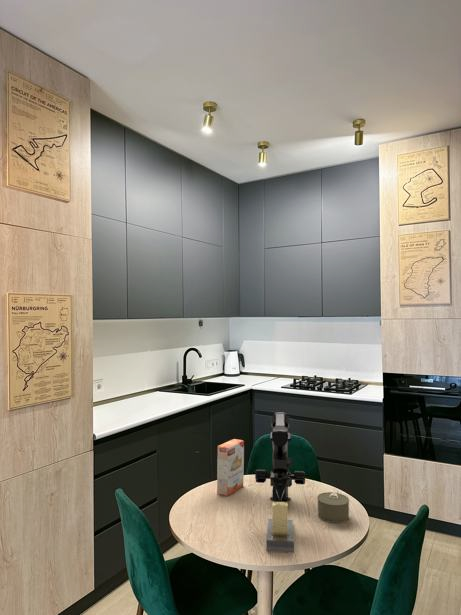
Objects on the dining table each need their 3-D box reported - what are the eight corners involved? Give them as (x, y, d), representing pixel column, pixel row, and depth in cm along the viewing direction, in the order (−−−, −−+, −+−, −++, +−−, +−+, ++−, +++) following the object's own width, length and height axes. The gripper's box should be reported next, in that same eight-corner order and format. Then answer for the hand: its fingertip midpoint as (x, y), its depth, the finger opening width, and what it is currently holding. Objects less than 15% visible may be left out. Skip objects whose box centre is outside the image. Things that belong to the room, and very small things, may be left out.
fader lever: (271, 535, 150) (271, 500, 150) (289, 536, 149) (288, 501, 150) (271, 542, 145) (270, 506, 145) (289, 543, 144) (289, 507, 145)
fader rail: (268, 522, 163) (268, 513, 163) (292, 523, 162) (292, 514, 162) (266, 551, 143) (266, 540, 143) (294, 552, 142) (293, 541, 142)
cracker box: (228, 496, 187) (228, 447, 188) (216, 493, 190) (216, 445, 191) (244, 486, 199) (244, 440, 199) (233, 483, 202) (233, 438, 203)
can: (315, 520, 165) (315, 502, 165) (319, 507, 176) (319, 490, 176) (348, 525, 161) (348, 506, 161) (350, 511, 172) (349, 494, 173)
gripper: (255, 448, 166) (253, 489, 155) (304, 450, 164) (306, 491, 153) (256, 462, 174) (255, 501, 163) (304, 463, 172) (305, 504, 161)
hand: (280, 499), depth 160 cm, fingers closed
